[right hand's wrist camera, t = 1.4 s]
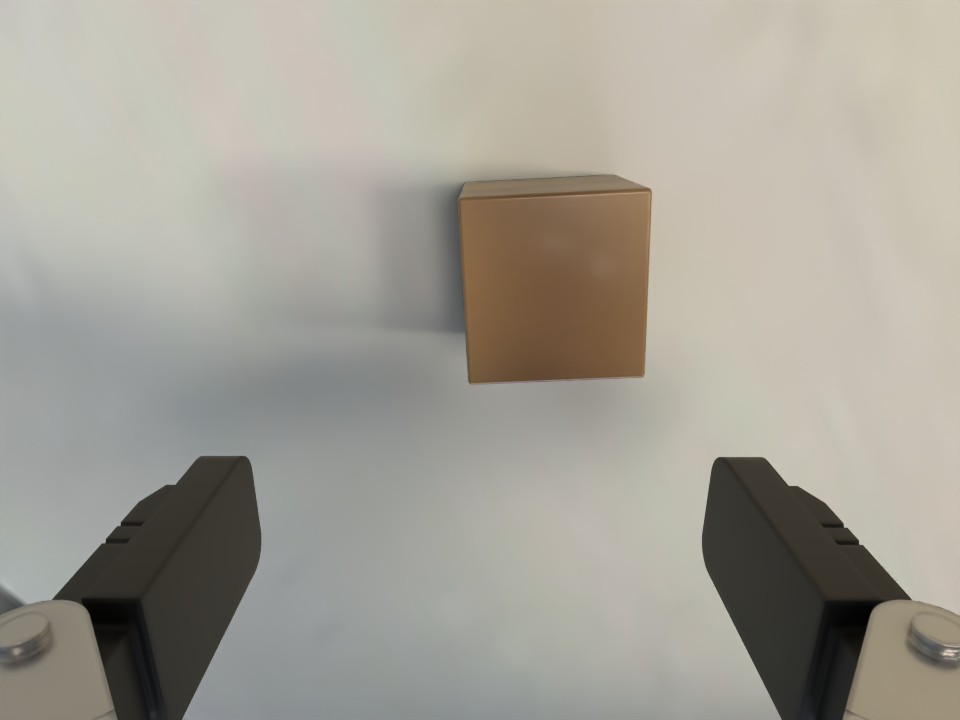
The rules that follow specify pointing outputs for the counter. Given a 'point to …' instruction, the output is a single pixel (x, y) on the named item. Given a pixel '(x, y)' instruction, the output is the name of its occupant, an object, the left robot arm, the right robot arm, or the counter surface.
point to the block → (555, 278)
